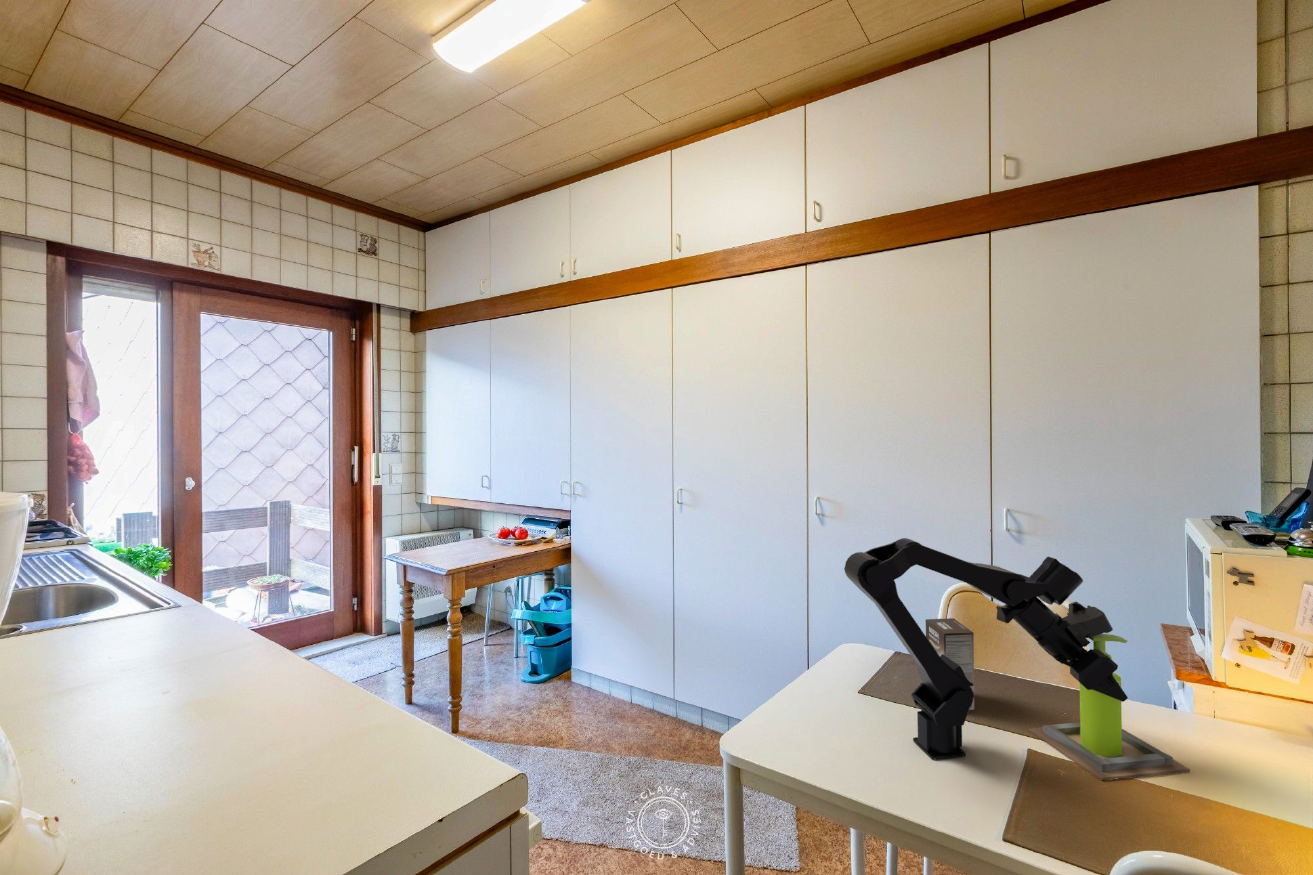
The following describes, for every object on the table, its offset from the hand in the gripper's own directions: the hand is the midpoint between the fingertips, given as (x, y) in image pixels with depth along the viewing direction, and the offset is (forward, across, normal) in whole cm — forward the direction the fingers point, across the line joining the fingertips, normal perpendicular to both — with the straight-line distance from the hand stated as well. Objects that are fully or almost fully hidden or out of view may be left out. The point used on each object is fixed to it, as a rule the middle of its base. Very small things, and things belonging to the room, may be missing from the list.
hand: (1112, 688), depth 105 cm
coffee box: (-8, +16, +24) cm, 30 cm away
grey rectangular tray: (+7, 0, +9) cm, 11 cm away
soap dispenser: (+6, 0, +9) cm, 11 cm away
